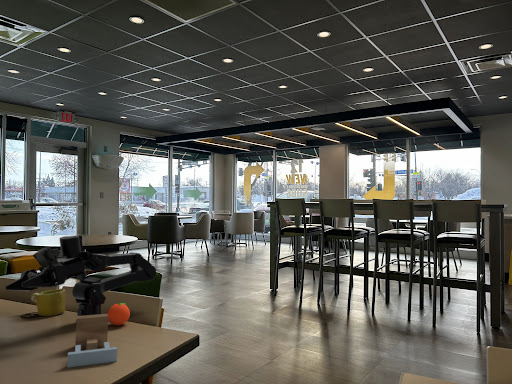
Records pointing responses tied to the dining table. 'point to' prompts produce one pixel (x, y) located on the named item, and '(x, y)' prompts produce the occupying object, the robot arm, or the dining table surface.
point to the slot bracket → (92, 356)
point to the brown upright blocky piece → (91, 331)
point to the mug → (49, 302)
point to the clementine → (118, 314)
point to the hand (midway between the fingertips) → (13, 286)
